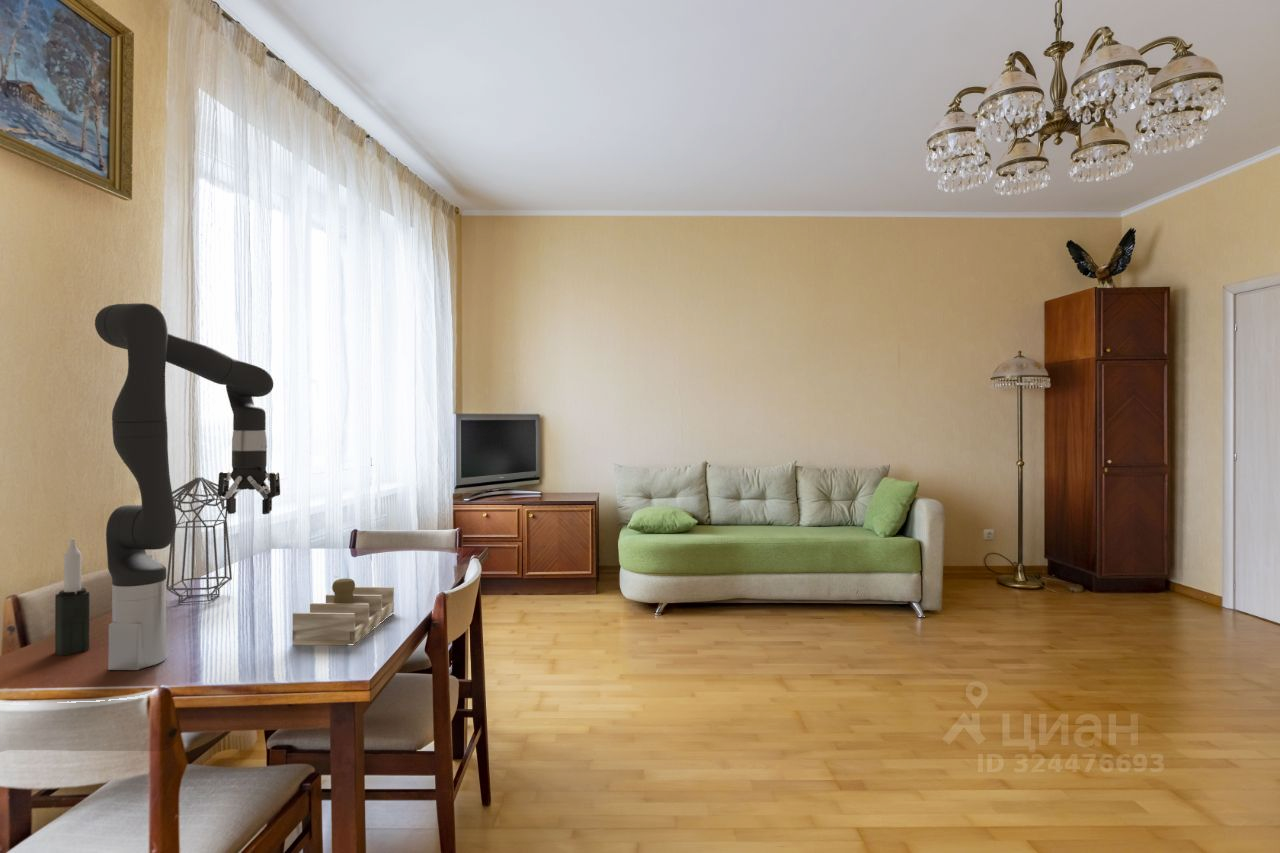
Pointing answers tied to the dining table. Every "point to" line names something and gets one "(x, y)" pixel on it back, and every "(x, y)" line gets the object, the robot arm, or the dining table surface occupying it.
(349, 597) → the cork
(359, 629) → the slot rack
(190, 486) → the geometric lantern
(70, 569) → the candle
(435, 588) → the dining table surface
